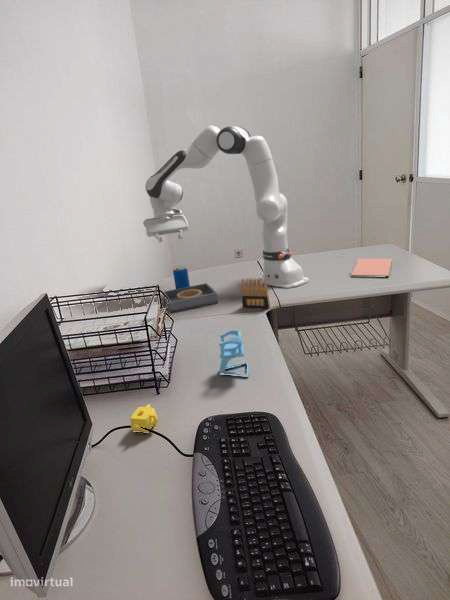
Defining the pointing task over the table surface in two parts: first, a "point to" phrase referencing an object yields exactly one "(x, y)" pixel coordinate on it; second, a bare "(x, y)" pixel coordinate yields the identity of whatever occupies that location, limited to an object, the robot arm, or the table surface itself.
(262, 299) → the ammunition clip
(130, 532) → the table surface
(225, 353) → the chair
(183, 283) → the beverage can
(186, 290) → the tray
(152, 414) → the yellow block with hole
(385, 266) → the notebook
